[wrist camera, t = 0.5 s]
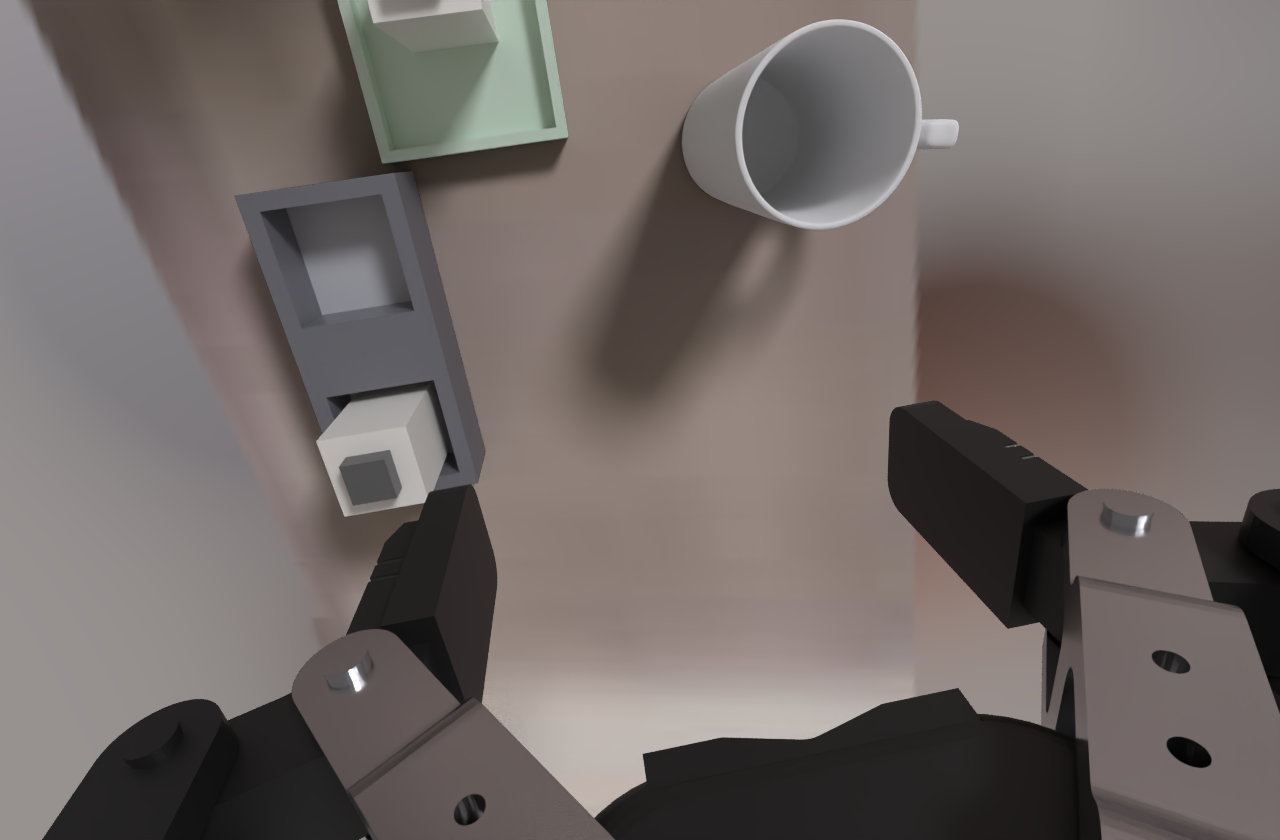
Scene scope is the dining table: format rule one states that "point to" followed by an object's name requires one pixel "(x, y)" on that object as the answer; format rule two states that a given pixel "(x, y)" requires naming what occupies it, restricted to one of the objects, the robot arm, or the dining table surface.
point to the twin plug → (386, 448)
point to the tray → (459, 86)
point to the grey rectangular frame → (364, 300)
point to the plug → (435, 22)
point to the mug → (812, 127)
